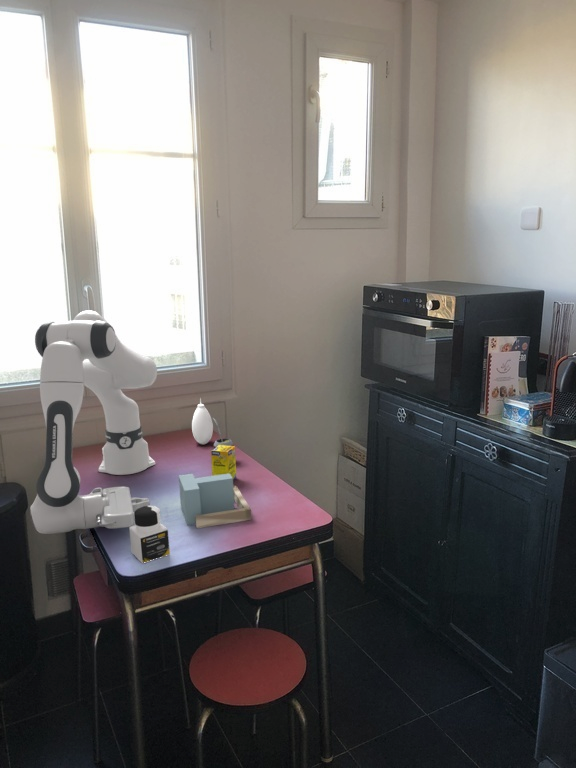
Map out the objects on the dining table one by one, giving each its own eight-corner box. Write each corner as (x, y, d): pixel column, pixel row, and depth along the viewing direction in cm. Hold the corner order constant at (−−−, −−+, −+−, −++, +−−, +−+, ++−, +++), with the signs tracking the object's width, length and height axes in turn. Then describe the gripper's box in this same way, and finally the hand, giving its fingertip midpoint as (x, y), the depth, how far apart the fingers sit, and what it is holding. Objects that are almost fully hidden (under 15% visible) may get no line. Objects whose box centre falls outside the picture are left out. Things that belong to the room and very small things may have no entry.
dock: (186, 502, 183) (186, 493, 182) (236, 495, 187) (236, 485, 187) (196, 528, 166) (196, 518, 166) (251, 519, 171) (250, 509, 170)
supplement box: (229, 485, 195) (227, 451, 193) (212, 483, 197) (210, 450, 195) (237, 478, 201) (235, 445, 199) (220, 476, 203) (218, 444, 200)
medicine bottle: (142, 564, 148) (138, 517, 146) (131, 553, 154) (126, 508, 151) (170, 555, 152) (166, 509, 150) (158, 544, 158) (154, 500, 155)
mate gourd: (231, 466, 212) (229, 424, 208) (209, 465, 213) (206, 423, 210) (237, 458, 219) (234, 417, 215) (215, 458, 220) (212, 417, 217)
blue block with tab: (181, 508, 180) (178, 475, 177) (228, 500, 184) (226, 468, 181) (187, 525, 168) (184, 490, 166) (237, 517, 172) (235, 483, 170)
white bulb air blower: (212, 446, 233) (209, 400, 229) (191, 447, 233) (188, 400, 229) (214, 440, 240) (212, 394, 236) (194, 440, 240) (191, 395, 236)
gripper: (95, 514, 156) (151, 506, 160) (94, 485, 175) (145, 478, 179) (98, 537, 157) (153, 529, 161) (97, 506, 176) (146, 499, 180)
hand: (149, 502), depth 170 cm, fingers closed
